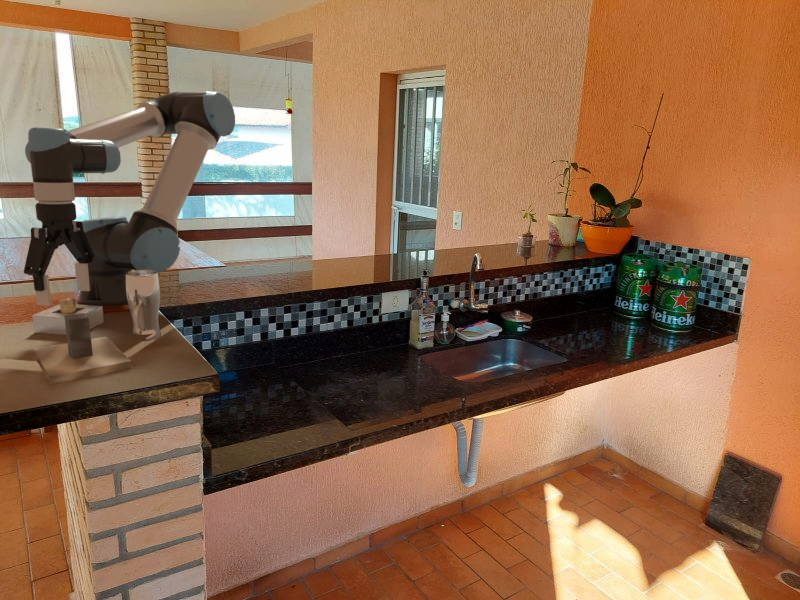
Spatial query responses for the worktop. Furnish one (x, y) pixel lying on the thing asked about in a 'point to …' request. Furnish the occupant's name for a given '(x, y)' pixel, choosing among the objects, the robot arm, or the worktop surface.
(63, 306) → the stand
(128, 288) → the beer glass
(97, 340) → the hub base
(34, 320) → the white square frame
